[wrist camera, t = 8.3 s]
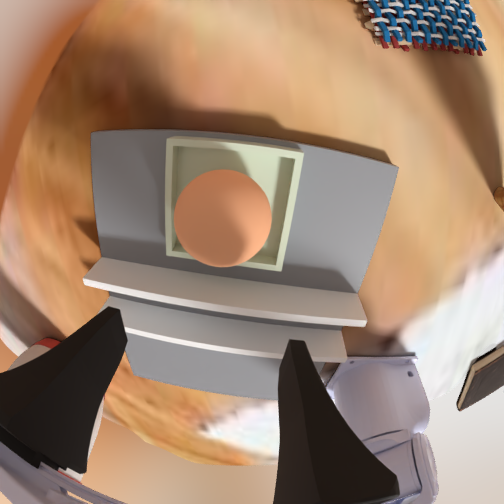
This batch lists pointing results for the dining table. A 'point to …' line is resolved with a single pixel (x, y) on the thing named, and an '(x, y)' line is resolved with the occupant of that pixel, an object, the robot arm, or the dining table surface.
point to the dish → (244, 161)
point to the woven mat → (424, 24)
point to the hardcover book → (482, 378)
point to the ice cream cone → (499, 197)
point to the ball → (222, 218)
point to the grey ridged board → (233, 267)
